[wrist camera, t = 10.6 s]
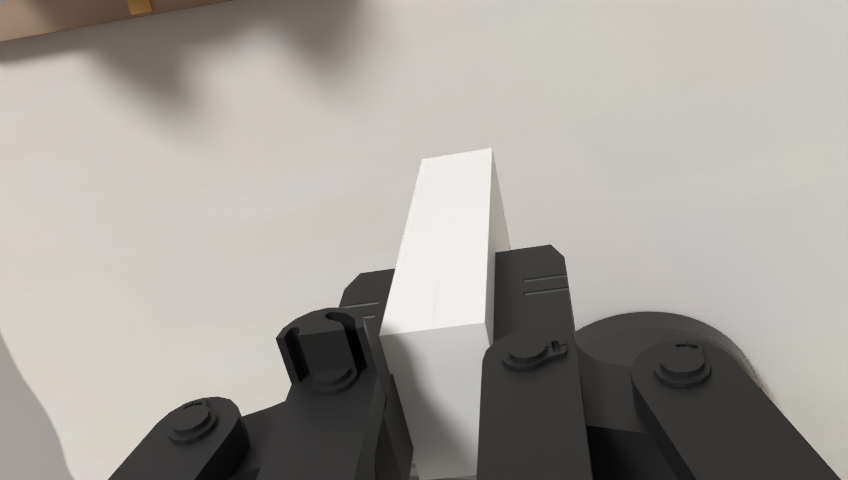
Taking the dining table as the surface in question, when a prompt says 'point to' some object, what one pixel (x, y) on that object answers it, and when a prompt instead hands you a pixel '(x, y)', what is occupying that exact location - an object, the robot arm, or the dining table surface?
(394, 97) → the dining table surface
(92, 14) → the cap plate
